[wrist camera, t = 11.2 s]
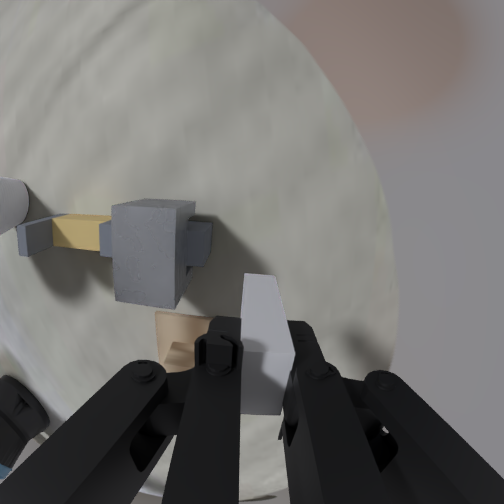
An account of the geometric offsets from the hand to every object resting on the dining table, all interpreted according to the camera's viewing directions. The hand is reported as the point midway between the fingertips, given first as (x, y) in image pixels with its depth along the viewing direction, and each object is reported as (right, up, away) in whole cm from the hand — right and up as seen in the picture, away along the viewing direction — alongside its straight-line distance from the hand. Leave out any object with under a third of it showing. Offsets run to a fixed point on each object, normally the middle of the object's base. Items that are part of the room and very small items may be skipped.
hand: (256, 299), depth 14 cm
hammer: (-13, +5, +13) cm, 19 cm away
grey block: (-8, +4, +11) cm, 15 cm away
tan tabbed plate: (-8, -10, +17) cm, 21 cm away
